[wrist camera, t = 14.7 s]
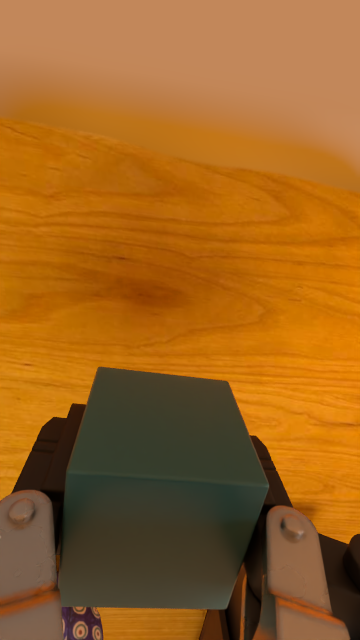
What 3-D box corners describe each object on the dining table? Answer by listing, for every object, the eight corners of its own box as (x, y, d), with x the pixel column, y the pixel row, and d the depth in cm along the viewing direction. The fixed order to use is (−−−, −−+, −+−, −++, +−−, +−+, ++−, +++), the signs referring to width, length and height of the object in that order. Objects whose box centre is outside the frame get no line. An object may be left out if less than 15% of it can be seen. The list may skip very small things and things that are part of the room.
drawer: (249, 507, 33) (271, 575, 27) (336, 511, 34) (374, 576, 28) (217, 606, 38) (230, 681, 32) (293, 607, 39) (318, 678, 33)
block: (97, 365, 11) (65, 471, 7) (228, 380, 12) (271, 485, 8) (87, 469, 13) (55, 608, 8) (203, 478, 13) (226, 611, 9)
